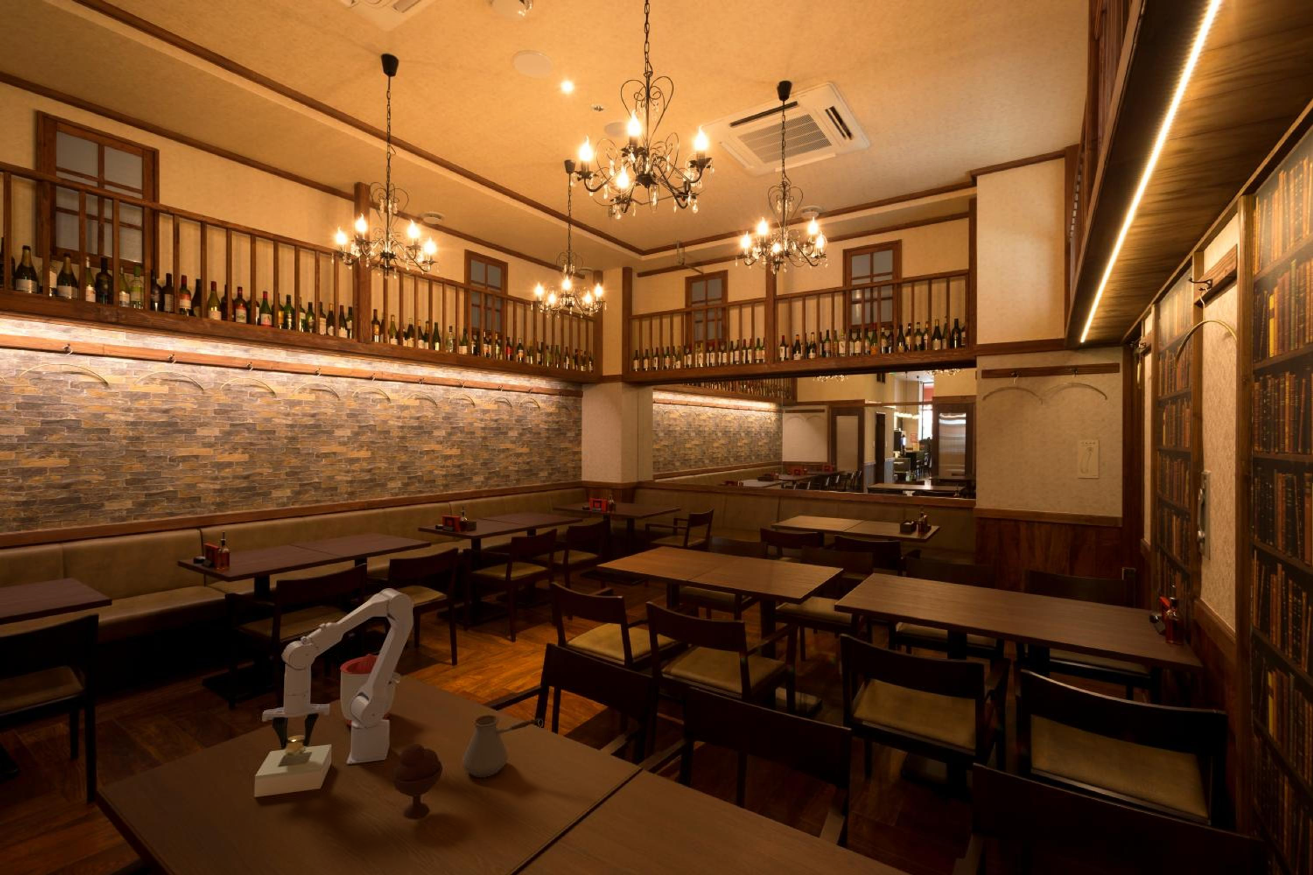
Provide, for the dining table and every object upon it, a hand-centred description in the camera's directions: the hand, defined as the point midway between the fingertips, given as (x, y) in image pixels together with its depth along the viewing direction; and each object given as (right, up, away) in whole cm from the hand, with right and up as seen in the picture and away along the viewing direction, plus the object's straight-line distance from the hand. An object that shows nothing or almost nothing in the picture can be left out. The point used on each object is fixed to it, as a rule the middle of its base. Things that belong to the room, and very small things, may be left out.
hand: (295, 745), depth 151 cm
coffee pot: (+50, -10, +5) cm, 52 cm away
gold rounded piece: (0, -1, 0) cm, 1 cm away
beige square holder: (0, -8, 0) cm, 8 cm away
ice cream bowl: (+35, -9, -12) cm, 38 cm away
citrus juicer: (+3, -9, +33) cm, 35 cm away
